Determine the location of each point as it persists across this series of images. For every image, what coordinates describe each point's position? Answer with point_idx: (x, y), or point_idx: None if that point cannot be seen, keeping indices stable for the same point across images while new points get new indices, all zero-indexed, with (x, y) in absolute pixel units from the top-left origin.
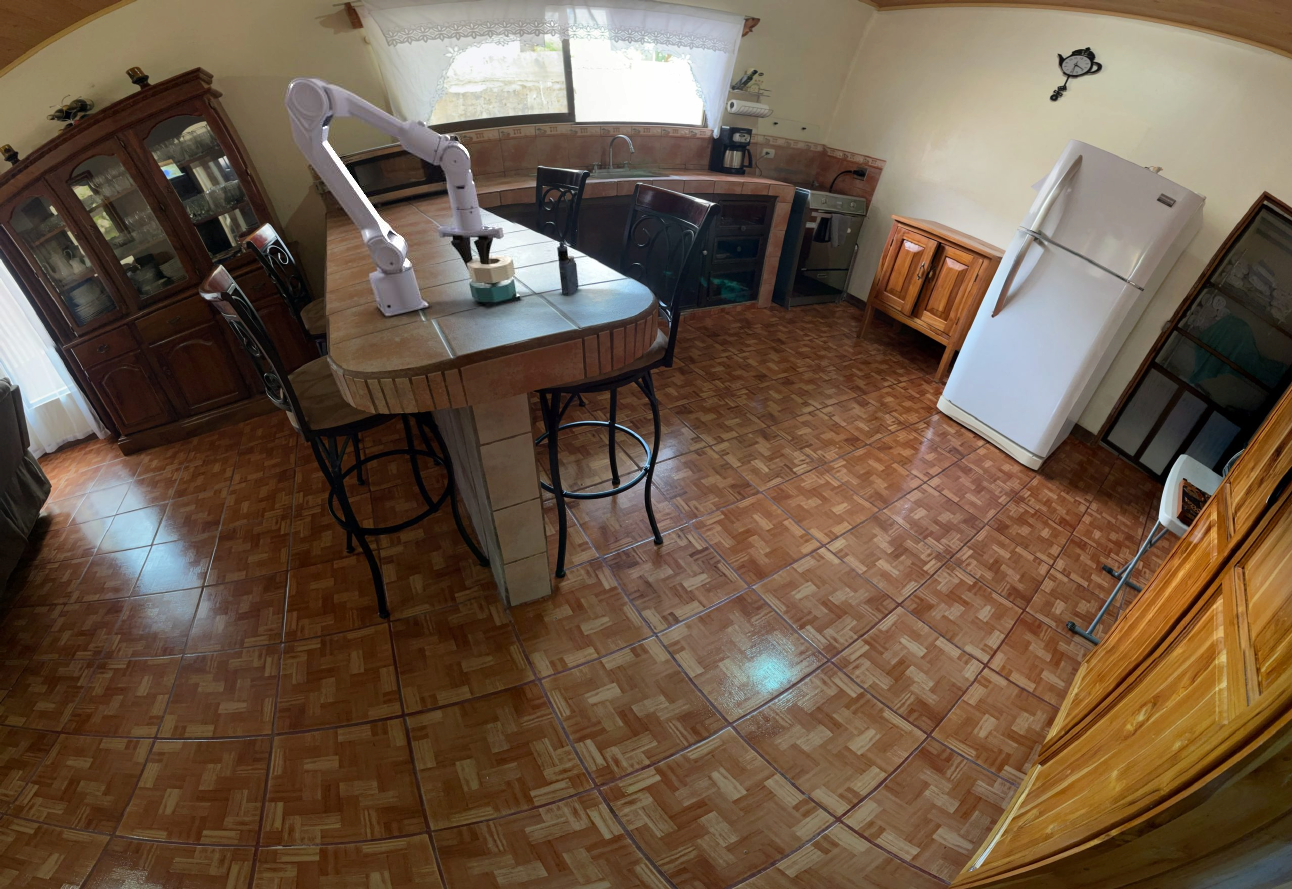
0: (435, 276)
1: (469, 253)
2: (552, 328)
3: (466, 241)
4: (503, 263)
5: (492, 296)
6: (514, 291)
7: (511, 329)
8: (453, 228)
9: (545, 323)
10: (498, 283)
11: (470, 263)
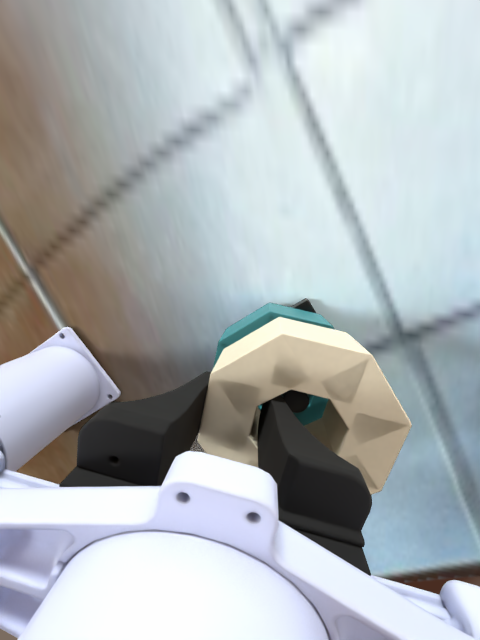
0: (32, 115)
1: (193, 414)
2: (429, 548)
3: (167, 472)
4: (366, 475)
5: None
6: None
7: None
8: (17, 584)
9: (415, 524)
10: (309, 415)
11: (213, 444)
